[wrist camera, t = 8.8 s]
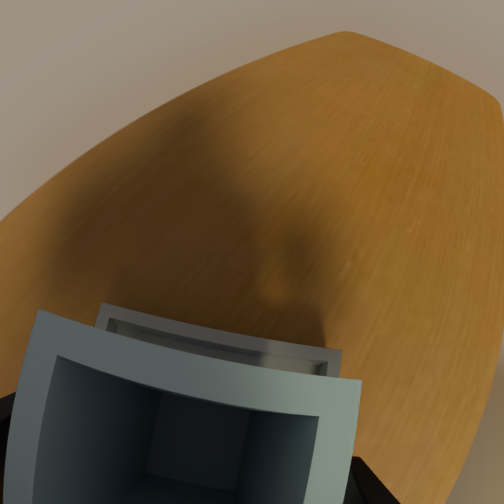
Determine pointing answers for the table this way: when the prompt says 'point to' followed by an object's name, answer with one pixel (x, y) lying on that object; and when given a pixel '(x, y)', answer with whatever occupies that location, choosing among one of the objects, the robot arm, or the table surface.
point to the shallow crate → (219, 343)
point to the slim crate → (170, 426)
